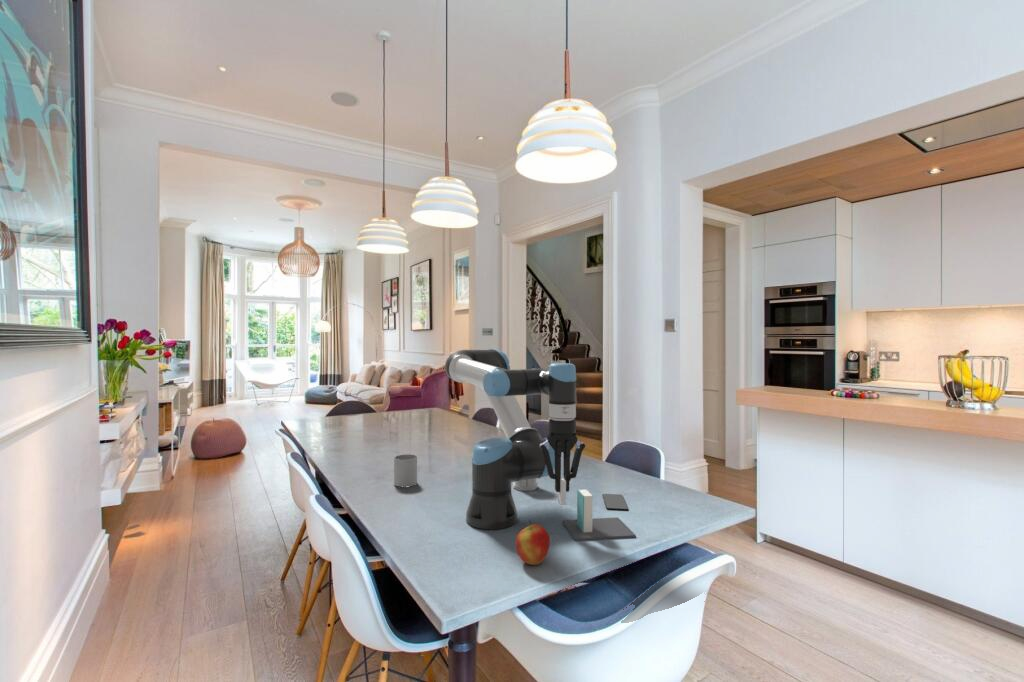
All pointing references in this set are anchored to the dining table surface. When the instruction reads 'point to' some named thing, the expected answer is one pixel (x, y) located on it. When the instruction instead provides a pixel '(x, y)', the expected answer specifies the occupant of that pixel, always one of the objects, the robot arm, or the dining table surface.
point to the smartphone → (615, 502)
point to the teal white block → (584, 510)
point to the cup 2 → (525, 485)
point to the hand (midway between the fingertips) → (562, 503)
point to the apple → (533, 544)
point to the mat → (600, 529)
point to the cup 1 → (405, 470)
